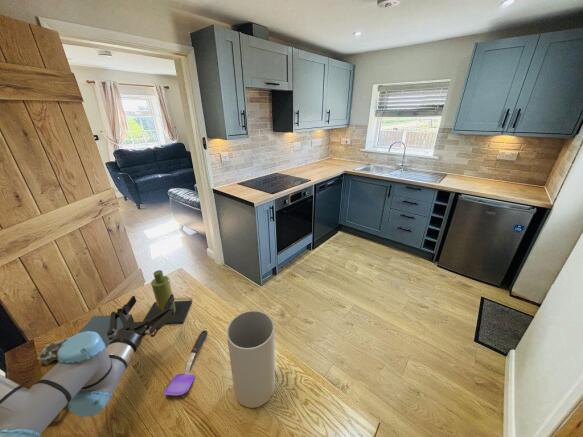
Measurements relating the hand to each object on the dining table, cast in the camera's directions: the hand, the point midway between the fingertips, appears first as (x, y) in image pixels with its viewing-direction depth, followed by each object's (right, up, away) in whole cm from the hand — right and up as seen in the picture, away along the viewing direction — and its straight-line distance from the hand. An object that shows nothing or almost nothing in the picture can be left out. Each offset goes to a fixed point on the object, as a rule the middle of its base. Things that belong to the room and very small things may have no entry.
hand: (153, 297), depth 88 cm
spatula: (+17, -20, -7) cm, 27 cm away
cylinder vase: (+40, -23, -14) cm, 48 cm away
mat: (-1, -10, +12) cm, 16 cm away
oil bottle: (-1, -10, +11) cm, 15 cm away
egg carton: (-28, -18, -5) cm, 34 cm away
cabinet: (-15, -17, -3) cm, 23 cm away
